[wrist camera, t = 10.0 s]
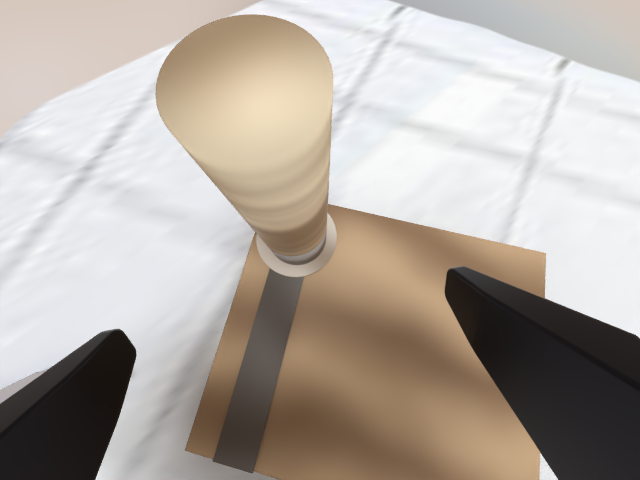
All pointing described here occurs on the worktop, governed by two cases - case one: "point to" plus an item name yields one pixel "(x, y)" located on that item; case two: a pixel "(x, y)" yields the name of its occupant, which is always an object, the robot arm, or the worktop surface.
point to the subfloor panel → (363, 362)
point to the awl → (257, 124)
